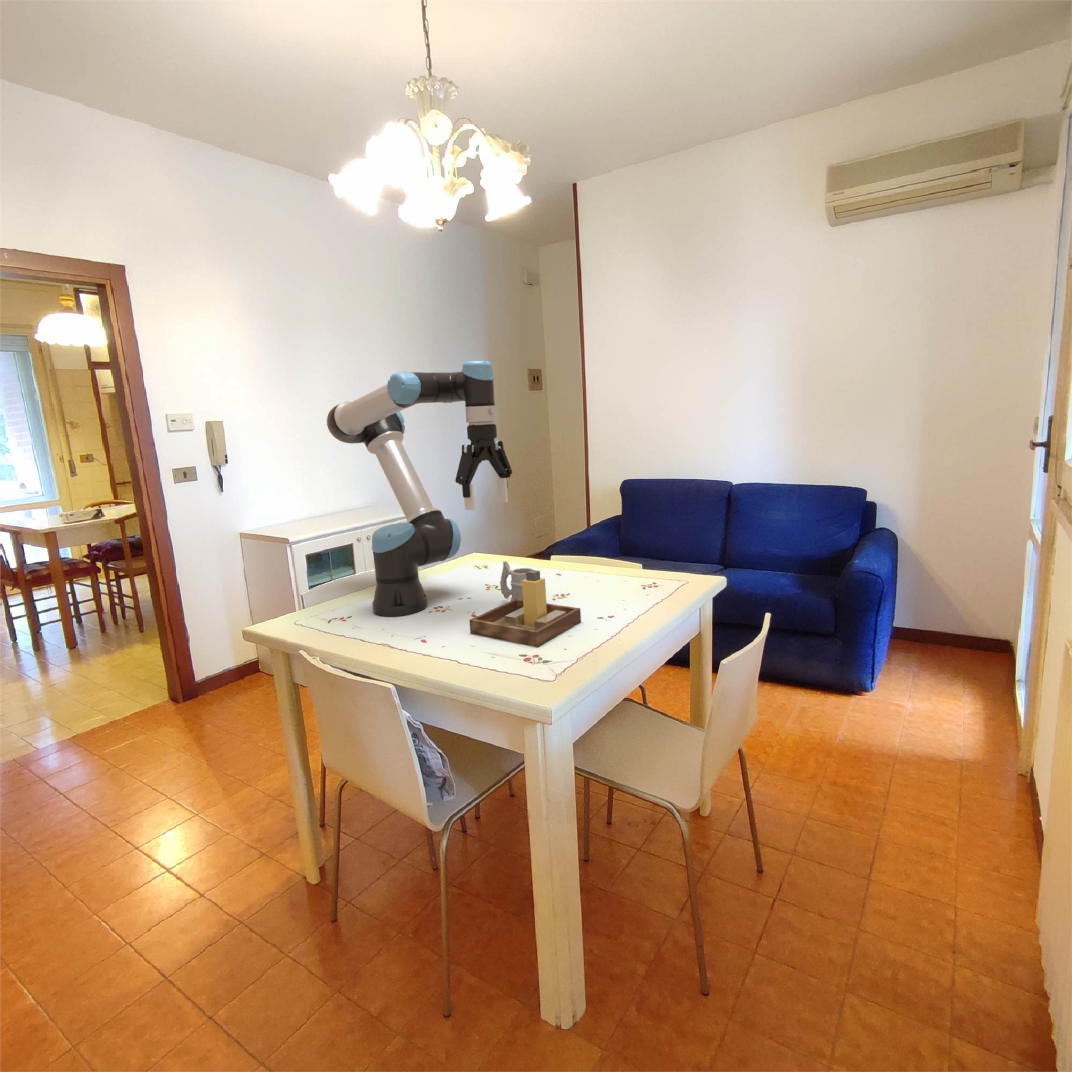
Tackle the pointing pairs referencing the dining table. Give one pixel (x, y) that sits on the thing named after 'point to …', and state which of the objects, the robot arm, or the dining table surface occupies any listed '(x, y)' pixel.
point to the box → (496, 628)
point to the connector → (533, 597)
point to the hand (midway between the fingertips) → (487, 506)
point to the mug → (513, 581)
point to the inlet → (518, 621)
